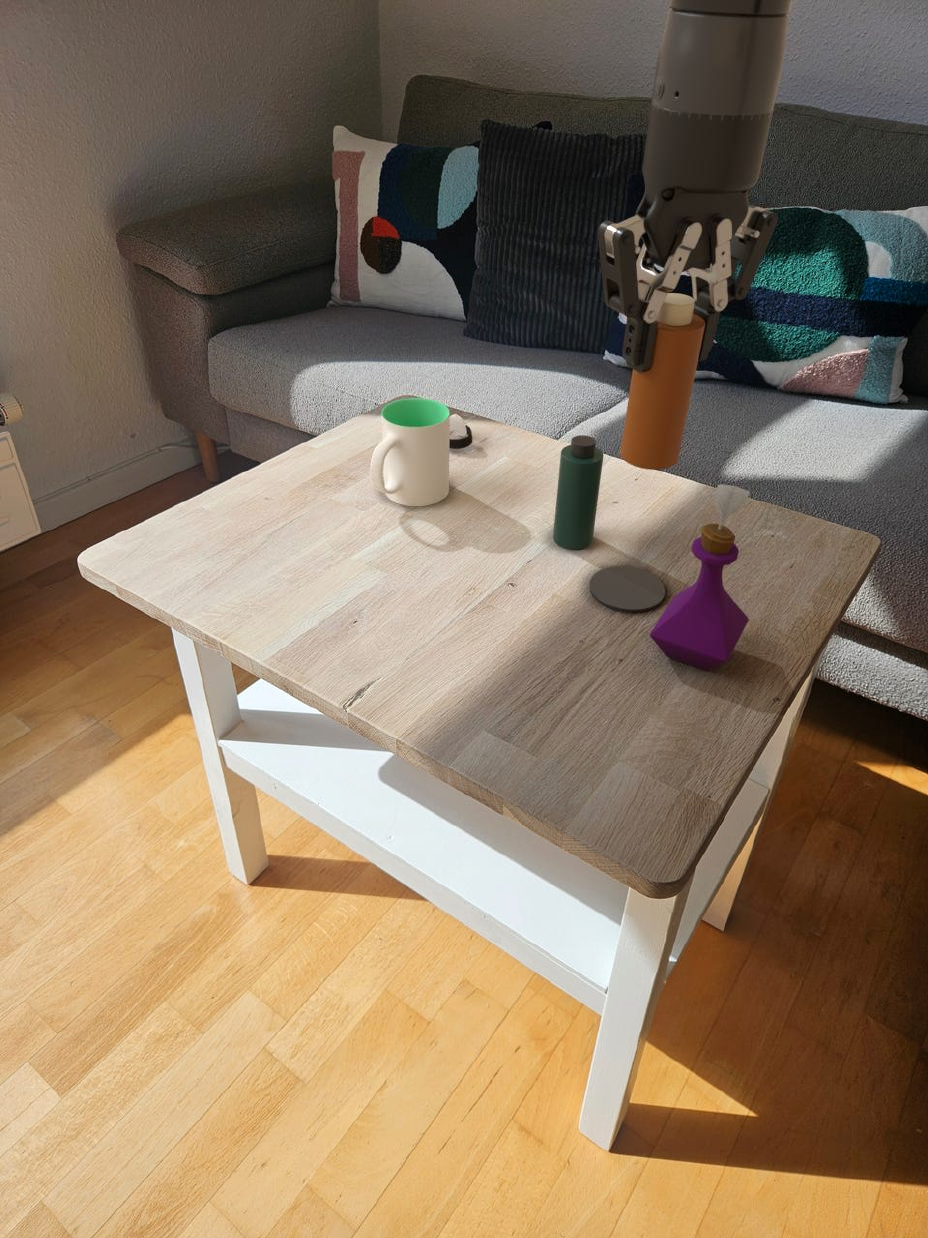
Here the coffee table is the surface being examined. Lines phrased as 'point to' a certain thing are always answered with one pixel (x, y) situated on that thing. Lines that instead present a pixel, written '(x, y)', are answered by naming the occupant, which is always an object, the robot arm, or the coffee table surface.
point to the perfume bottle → (706, 597)
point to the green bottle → (577, 493)
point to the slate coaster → (627, 589)
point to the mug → (413, 452)
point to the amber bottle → (664, 388)
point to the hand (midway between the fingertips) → (666, 361)
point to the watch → (460, 433)
